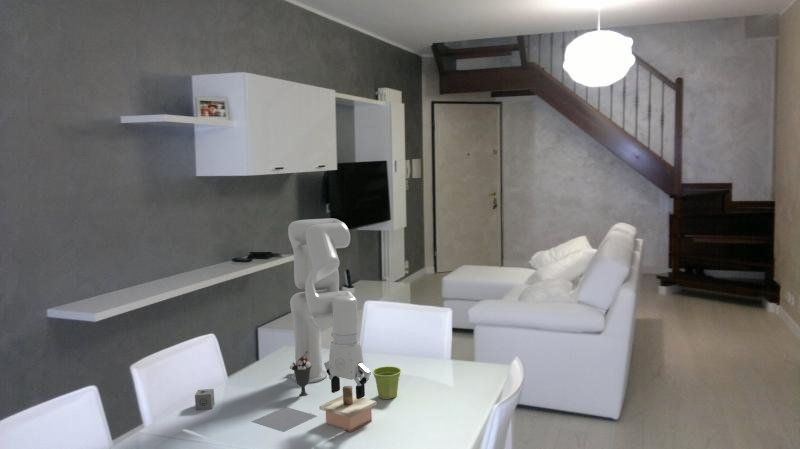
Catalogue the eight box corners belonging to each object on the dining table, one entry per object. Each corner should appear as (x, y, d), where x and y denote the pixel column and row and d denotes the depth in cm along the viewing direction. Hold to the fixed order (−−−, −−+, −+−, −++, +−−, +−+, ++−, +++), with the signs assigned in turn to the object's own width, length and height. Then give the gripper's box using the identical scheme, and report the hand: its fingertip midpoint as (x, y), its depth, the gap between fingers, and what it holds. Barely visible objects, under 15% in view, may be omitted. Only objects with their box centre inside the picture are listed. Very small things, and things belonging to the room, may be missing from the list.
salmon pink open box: (326, 425, 194) (325, 408, 193) (347, 414, 201) (347, 398, 201) (350, 432, 188) (350, 415, 188) (371, 421, 196) (371, 405, 195)
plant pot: (398, 402, 211) (398, 375, 210) (370, 400, 213) (369, 374, 212) (404, 391, 220) (403, 366, 219) (377, 390, 222) (376, 365, 221)
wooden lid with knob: (319, 409, 193) (318, 389, 192) (346, 396, 203) (345, 378, 202) (350, 417, 186) (349, 397, 185) (376, 404, 195) (375, 385, 195)
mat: (251, 423, 197) (251, 421, 197) (285, 408, 208) (285, 406, 208) (283, 433, 188) (283, 431, 188) (317, 417, 200) (317, 415, 200)
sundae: (317, 393, 221) (315, 350, 219) (307, 400, 214) (305, 356, 213) (299, 392, 223) (297, 349, 221) (289, 398, 216) (287, 354, 215)
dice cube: (199, 404, 214) (198, 389, 214) (214, 403, 215) (213, 388, 214) (195, 410, 209) (194, 395, 209) (211, 409, 210) (210, 394, 209)
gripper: (315, 337, 194) (318, 393, 196) (360, 345, 184) (362, 404, 186) (332, 331, 200) (334, 385, 202) (376, 339, 190) (378, 396, 192)
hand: (348, 394), depth 194 cm, fingers open, 9 cm apart
